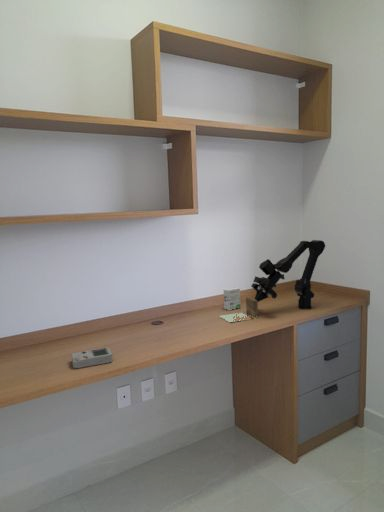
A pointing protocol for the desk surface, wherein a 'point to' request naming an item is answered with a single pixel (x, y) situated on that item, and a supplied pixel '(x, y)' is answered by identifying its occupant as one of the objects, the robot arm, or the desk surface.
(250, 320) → the desk surface
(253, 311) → the walnut plaque
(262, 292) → the robot arm
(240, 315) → the green mat
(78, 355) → the handheld gaming device
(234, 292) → the ink box
